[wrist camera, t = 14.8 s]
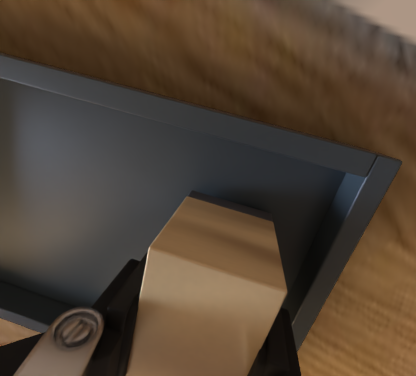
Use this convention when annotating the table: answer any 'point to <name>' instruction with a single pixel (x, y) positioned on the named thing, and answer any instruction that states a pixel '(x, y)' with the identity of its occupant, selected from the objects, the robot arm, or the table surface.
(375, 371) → the table surface
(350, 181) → the tray
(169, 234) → the wooden block
